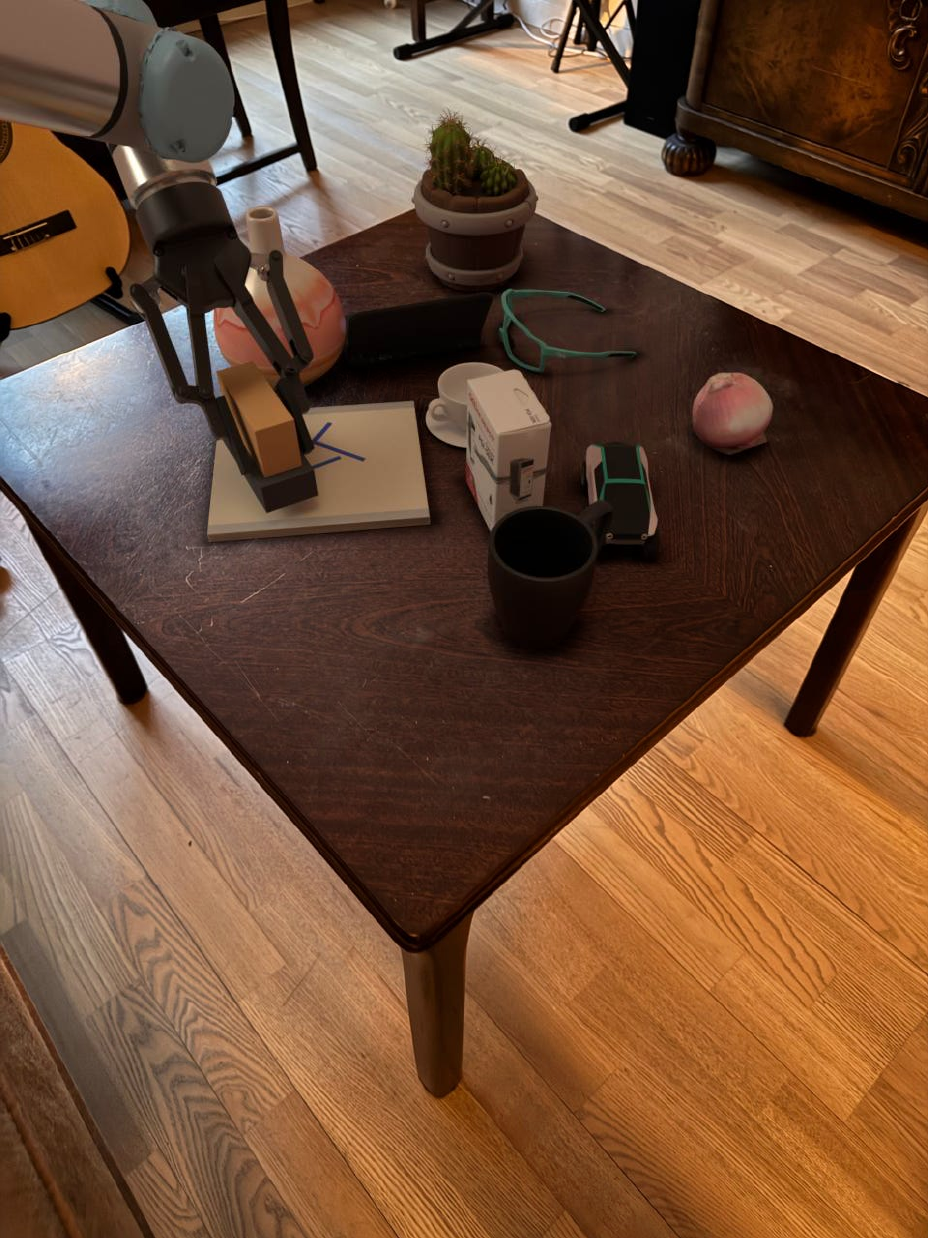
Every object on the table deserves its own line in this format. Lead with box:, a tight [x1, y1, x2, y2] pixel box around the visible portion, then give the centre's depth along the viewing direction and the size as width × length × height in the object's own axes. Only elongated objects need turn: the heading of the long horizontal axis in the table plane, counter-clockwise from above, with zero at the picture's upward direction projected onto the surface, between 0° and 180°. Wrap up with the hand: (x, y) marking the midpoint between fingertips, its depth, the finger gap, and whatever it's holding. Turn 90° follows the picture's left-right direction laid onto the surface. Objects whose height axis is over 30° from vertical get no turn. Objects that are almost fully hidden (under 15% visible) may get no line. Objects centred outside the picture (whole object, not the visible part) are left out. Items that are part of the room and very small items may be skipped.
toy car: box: [580, 440, 660, 559], centre depth 79 cm, size 6×12×5 cm, turn 179°
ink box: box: [465, 368, 552, 532], centre depth 77 cm, size 9×5×12 cm, turn 18°
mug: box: [487, 500, 613, 651], centre depth 69 cm, size 8×12×10 cm
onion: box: [692, 372, 774, 456], centre depth 86 cm, size 8×8×7 cm
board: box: [206, 400, 431, 543], centre depth 84 cm, size 20×18×1 cm
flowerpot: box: [410, 107, 539, 293], centre depth 103 cm, size 14×15×20 cm
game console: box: [342, 291, 494, 367], centre depth 96 cm, size 16×14×9 cm
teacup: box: [425, 361, 505, 449], centre depth 88 cm, size 10×10×5 cm
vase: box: [212, 206, 346, 391], centre depth 89 cm, size 14×14×18 cm
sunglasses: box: [498, 288, 637, 373], centre depth 99 cm, size 14×15×5 cm
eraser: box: [216, 361, 318, 513], centre depth 78 cm, size 5×12×8 cm, turn 29°
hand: (277, 461), depth 77 cm, fingers closed on eraser, 5 cm apart
